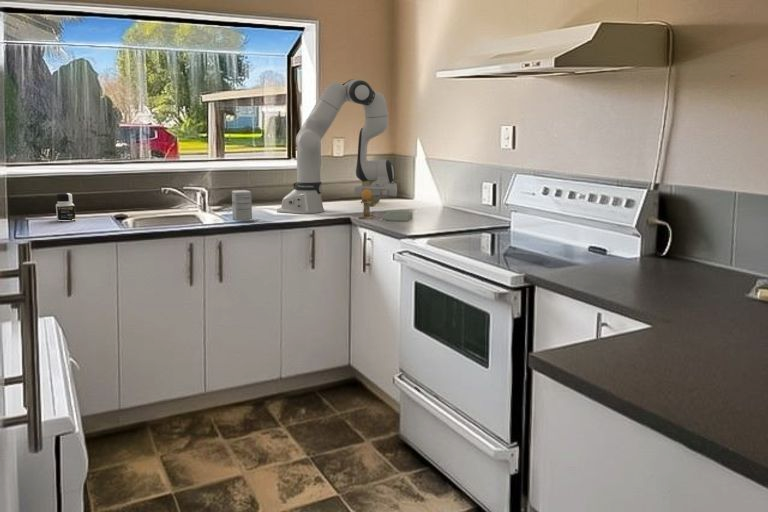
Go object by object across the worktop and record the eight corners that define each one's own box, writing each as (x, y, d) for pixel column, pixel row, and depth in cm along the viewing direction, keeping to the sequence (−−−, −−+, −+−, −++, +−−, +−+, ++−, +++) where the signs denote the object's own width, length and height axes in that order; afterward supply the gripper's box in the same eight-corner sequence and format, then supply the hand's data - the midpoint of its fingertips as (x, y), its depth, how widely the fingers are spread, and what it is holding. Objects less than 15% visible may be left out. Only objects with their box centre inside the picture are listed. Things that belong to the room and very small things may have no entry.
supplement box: (232, 218, 332) (231, 190, 330) (248, 217, 335) (247, 189, 332) (235, 221, 325) (234, 192, 323) (252, 220, 328) (251, 191, 326)
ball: (359, 200, 333) (359, 189, 332) (362, 199, 337) (362, 188, 336) (370, 201, 331) (370, 189, 330) (373, 199, 336) (373, 188, 335)
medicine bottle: (58, 222, 320) (55, 194, 317) (56, 220, 326) (54, 192, 324) (76, 221, 323) (73, 193, 321) (74, 219, 329) (72, 192, 327)
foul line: (377, 220, 328) (377, 220, 328) (384, 216, 340) (384, 216, 340) (379, 220, 327) (379, 220, 327) (386, 216, 340) (386, 216, 340)
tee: (358, 218, 334) (358, 199, 332) (362, 216, 339) (361, 198, 338) (371, 219, 332) (371, 200, 331) (374, 217, 338) (374, 198, 336)
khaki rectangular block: (380, 206, 374) (381, 177, 371) (361, 206, 374) (361, 177, 371) (380, 201, 396) (380, 173, 393) (362, 201, 396) (362, 173, 393)
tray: (384, 220, 328) (384, 213, 328) (390, 217, 338) (390, 210, 337) (407, 221, 326) (407, 214, 325) (412, 218, 336) (412, 211, 335)
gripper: (358, 182, 358) (350, 185, 344) (399, 183, 353) (393, 186, 340) (358, 195, 359) (350, 198, 346) (399, 196, 354) (392, 200, 341)
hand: (371, 192), depth 343 cm, fingers open, 8 cm apart
